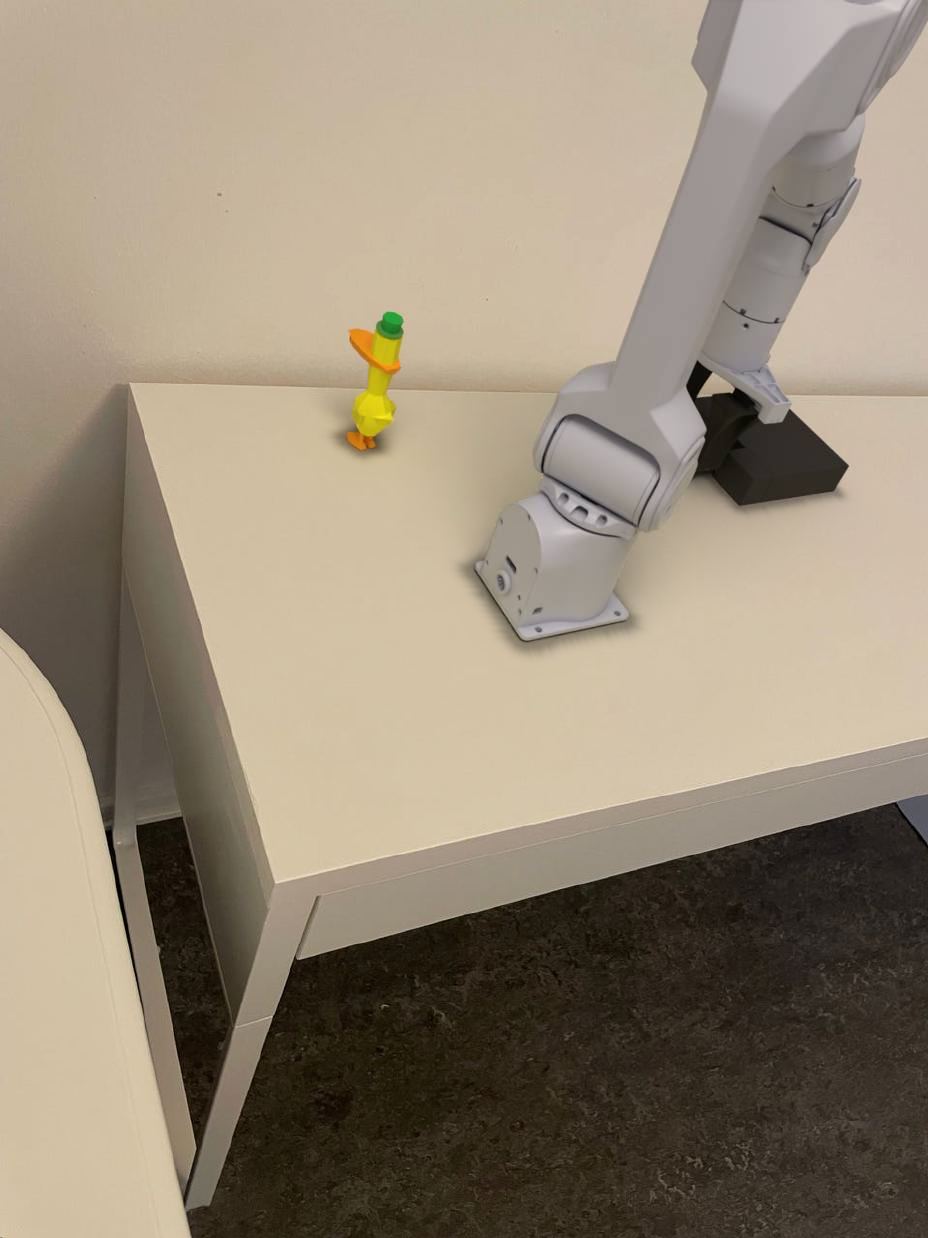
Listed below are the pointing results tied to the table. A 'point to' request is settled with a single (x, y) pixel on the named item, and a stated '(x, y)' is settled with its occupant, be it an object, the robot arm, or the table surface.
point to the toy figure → (376, 378)
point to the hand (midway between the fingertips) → (688, 441)
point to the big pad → (777, 461)
